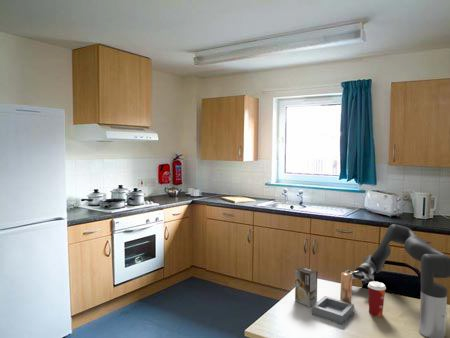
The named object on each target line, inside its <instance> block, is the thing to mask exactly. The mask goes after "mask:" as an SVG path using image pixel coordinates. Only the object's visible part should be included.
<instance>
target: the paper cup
mask: <svg viewBox="0 0 450 338" xmlns="http://www.w3.org/2000/svg"><path fill="white" fill-rule="evenodd" d="M367 288H368V313H369V314H370V315H371V316H373V317H382V316H383V311H384V303H385V294H386V290H387V287H386V285H385V284H384V283H383V282H379V281H375V280H373V281H372V282H368V285H367Z"/></svg>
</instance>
